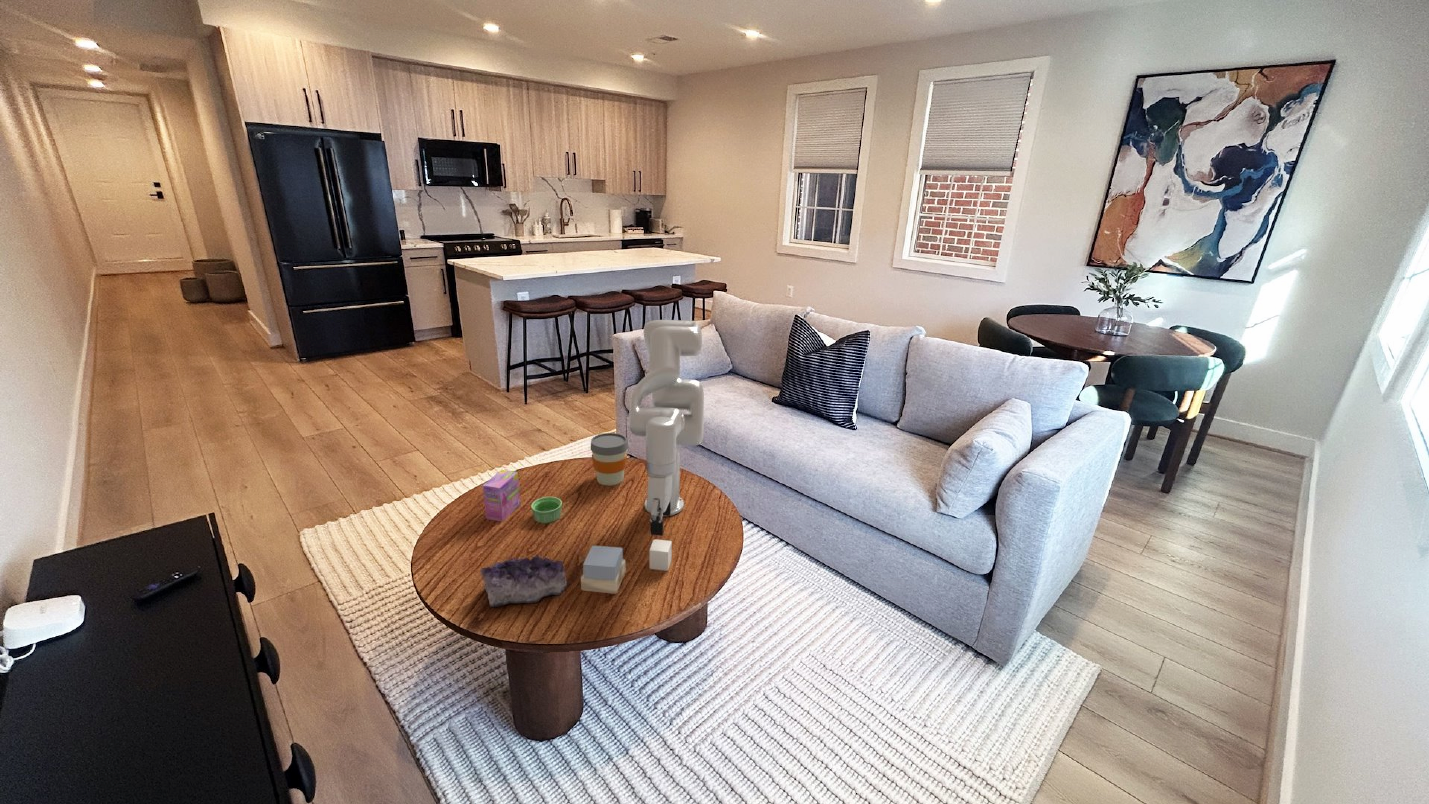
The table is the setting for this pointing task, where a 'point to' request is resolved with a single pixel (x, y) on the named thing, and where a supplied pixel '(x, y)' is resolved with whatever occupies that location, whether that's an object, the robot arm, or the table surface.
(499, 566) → the geode
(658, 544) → the white block
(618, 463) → the reusable coffee cup
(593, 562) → the tower top
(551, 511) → the ramekin
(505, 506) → the box
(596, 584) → the tower base
